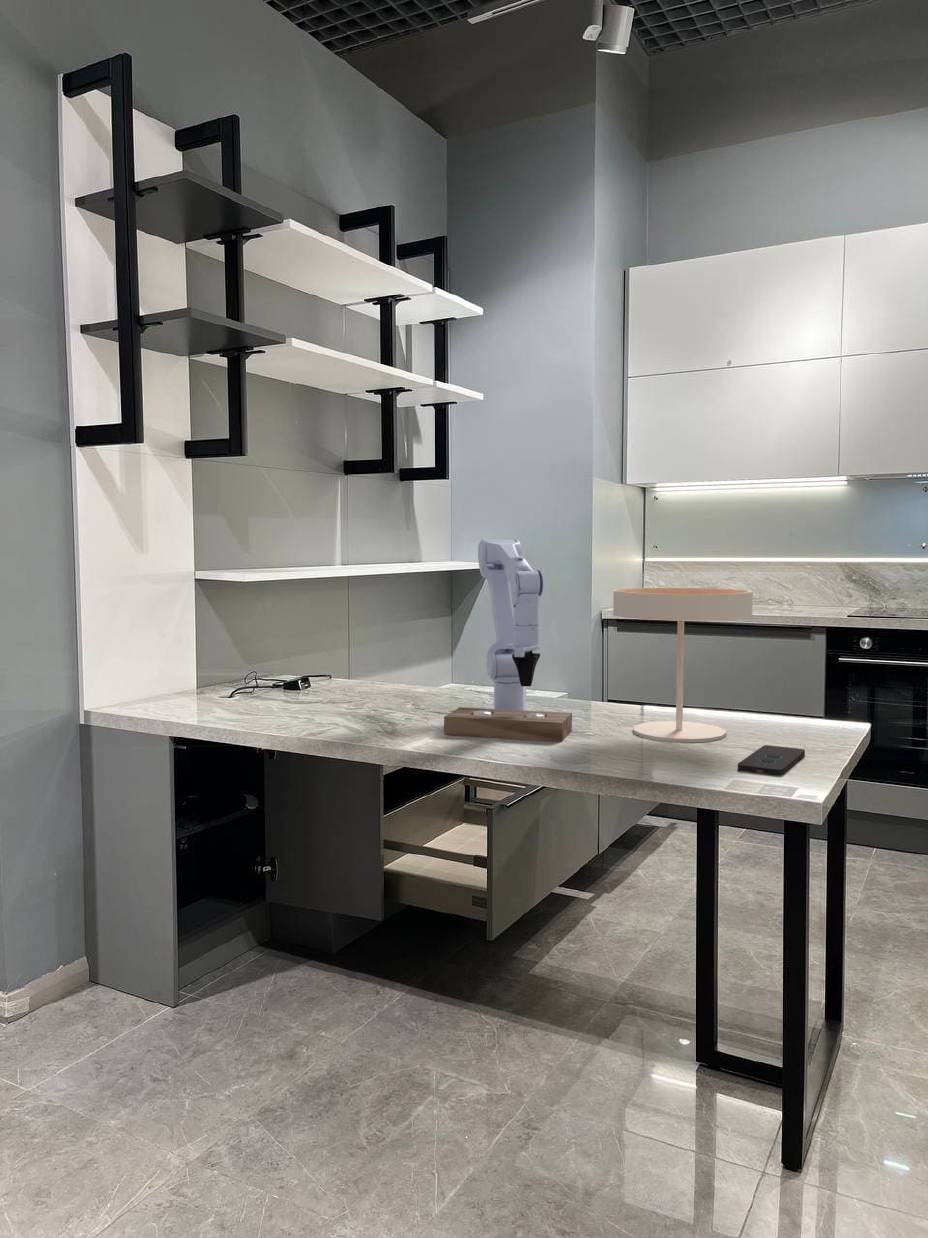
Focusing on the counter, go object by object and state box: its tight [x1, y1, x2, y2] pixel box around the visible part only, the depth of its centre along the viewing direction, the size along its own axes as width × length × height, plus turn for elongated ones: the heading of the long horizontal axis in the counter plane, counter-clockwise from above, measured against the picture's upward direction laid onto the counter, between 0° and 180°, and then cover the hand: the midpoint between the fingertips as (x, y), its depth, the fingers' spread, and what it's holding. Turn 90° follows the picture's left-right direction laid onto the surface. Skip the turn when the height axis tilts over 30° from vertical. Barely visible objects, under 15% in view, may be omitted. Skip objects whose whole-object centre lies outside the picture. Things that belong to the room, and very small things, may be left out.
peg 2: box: [526, 713, 545, 718], centre depth 205 cm, size 4×4×4 cm
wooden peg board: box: [443, 706, 573, 742], centre depth 207 cm, size 12×26×4 cm, turn 74°
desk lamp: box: [612, 587, 754, 743], centre depth 205 cm, size 30×30×31 cm
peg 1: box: [473, 711, 491, 716], centre depth 208 cm, size 4×4×4 cm
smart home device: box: [737, 744, 806, 777], centre depth 178 cm, size 8×2×20 cm
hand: (526, 686), depth 209 cm, fingers closed
